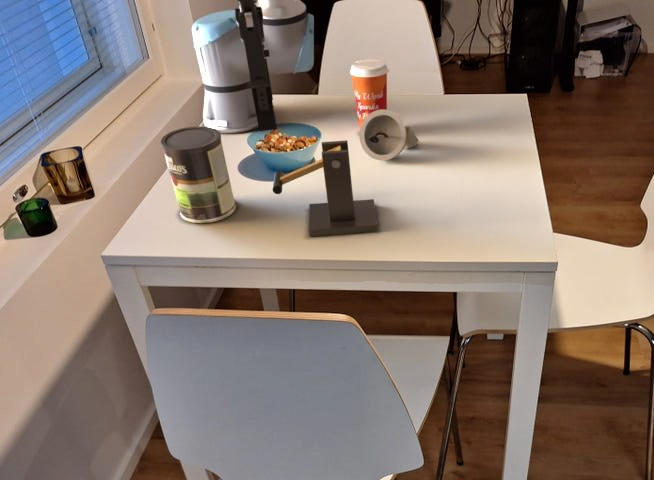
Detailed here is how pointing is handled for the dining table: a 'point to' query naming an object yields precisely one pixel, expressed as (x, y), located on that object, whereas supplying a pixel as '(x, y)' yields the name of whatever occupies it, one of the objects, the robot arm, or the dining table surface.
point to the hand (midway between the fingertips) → (266, 114)
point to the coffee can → (199, 174)
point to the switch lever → (296, 173)
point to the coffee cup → (369, 86)
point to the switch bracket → (340, 198)
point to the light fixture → (385, 135)
